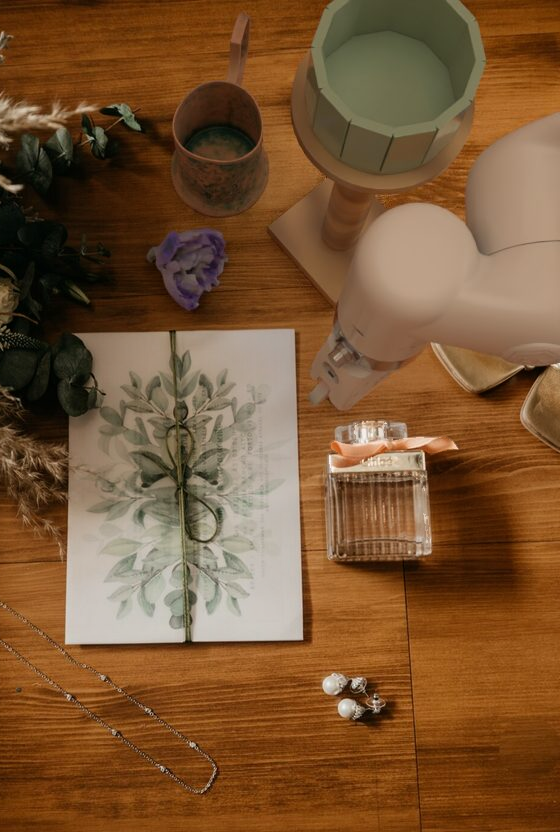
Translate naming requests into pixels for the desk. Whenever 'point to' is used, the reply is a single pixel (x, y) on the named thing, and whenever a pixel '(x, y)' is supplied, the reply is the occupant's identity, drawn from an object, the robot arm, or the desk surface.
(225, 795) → the desk surface
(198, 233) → the flower
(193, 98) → the mug
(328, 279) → the stand
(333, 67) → the bowl
